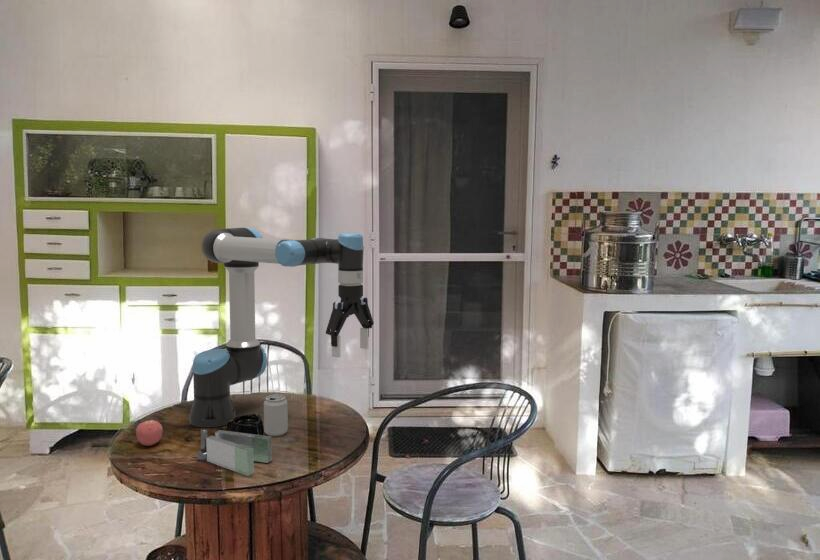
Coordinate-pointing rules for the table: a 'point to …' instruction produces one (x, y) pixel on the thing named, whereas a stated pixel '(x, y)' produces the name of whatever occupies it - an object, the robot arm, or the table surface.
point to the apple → (149, 432)
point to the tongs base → (226, 454)
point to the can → (275, 415)
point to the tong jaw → (250, 443)
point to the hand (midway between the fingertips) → (350, 352)
